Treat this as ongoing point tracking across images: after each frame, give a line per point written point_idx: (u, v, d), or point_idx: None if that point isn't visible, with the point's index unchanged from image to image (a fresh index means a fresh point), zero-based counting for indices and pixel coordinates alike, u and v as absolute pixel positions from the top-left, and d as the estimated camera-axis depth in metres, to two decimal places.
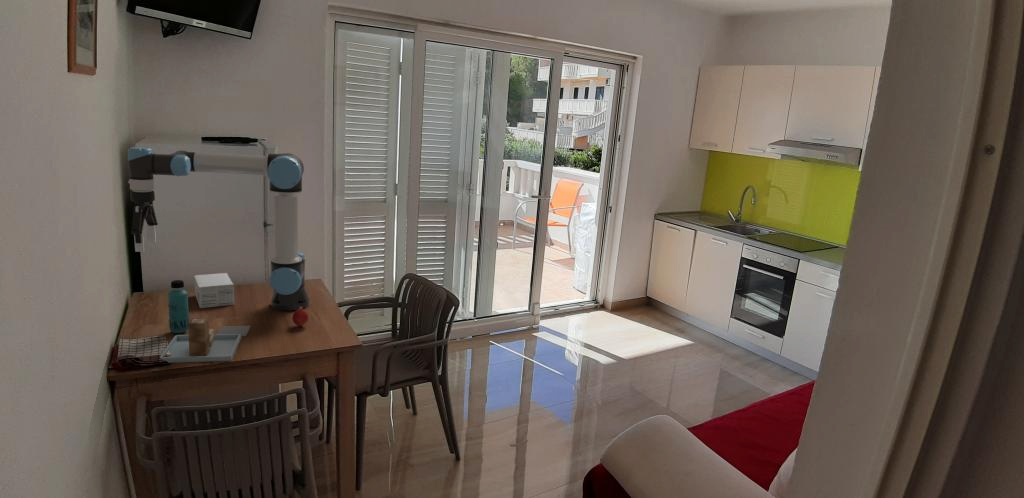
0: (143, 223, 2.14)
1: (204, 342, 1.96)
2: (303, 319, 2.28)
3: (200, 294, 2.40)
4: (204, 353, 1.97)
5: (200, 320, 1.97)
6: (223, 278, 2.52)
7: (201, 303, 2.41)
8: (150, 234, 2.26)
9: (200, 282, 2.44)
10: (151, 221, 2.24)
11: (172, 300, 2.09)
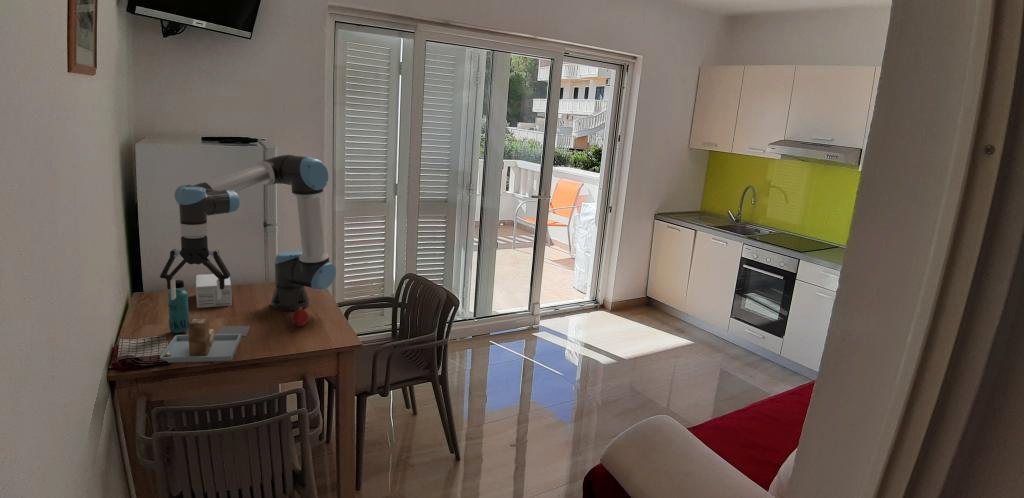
0: (177, 270, 1.90)
1: (204, 342, 1.96)
2: (303, 319, 2.28)
3: (197, 294, 2.40)
4: (204, 353, 1.97)
5: (200, 320, 1.97)
6: None
7: (198, 303, 2.41)
8: None
9: (199, 281, 2.45)
10: None
11: (172, 300, 2.09)
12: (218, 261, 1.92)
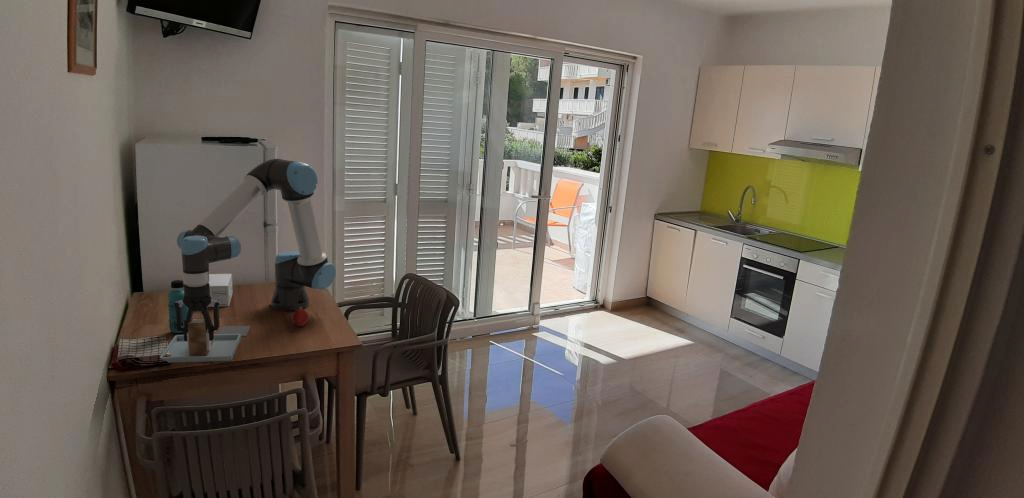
0: (188, 320, 1.95)
1: (204, 342, 1.97)
2: (303, 319, 2.28)
3: None
4: (204, 353, 1.97)
5: (200, 320, 1.97)
6: (223, 278, 2.51)
7: None
8: None
9: None
10: None
11: (172, 300, 2.09)
12: (215, 312, 1.96)
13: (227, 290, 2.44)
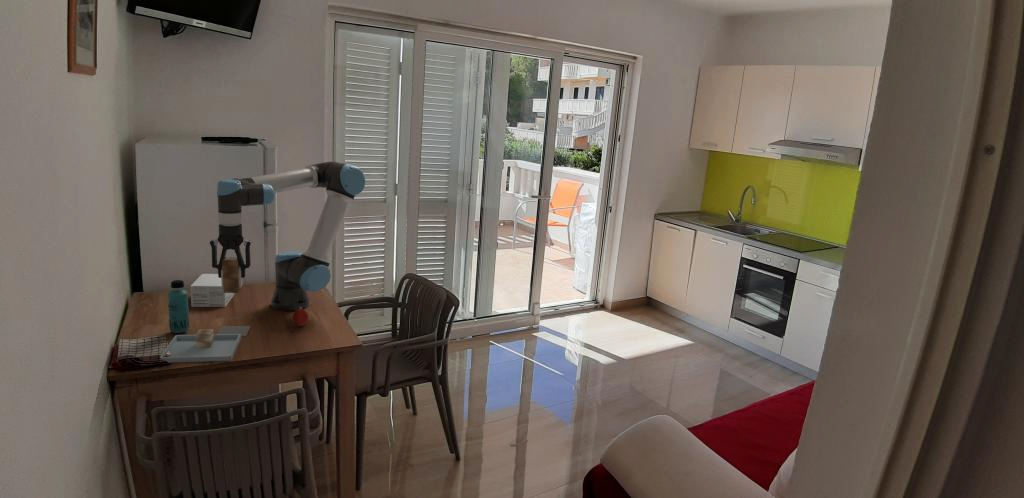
0: (223, 258, 2.11)
1: (237, 278, 2.13)
2: (303, 319, 2.28)
3: (191, 293, 2.40)
4: (236, 289, 2.14)
5: (233, 258, 2.14)
6: None
7: (192, 302, 2.41)
8: (239, 277, 2.16)
9: (198, 281, 2.46)
10: None
11: (172, 300, 2.09)
12: (247, 251, 2.13)
13: None
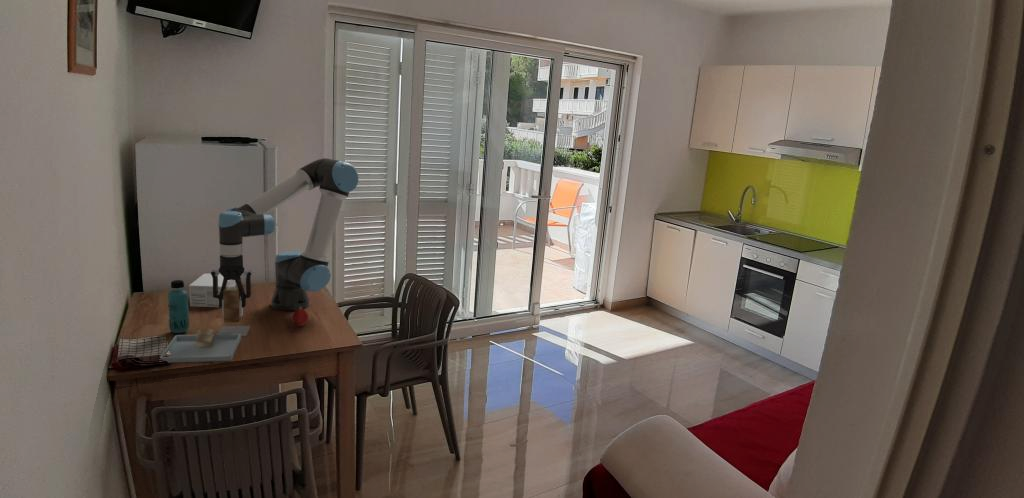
0: (223, 288, 2.14)
1: (237, 308, 2.16)
2: (303, 319, 2.28)
3: (190, 292, 2.41)
4: (237, 318, 2.17)
5: (234, 288, 2.16)
6: (222, 279, 2.50)
7: (191, 301, 2.42)
8: None
9: (197, 280, 2.46)
10: None
11: (172, 300, 2.09)
12: (248, 281, 2.16)
13: None
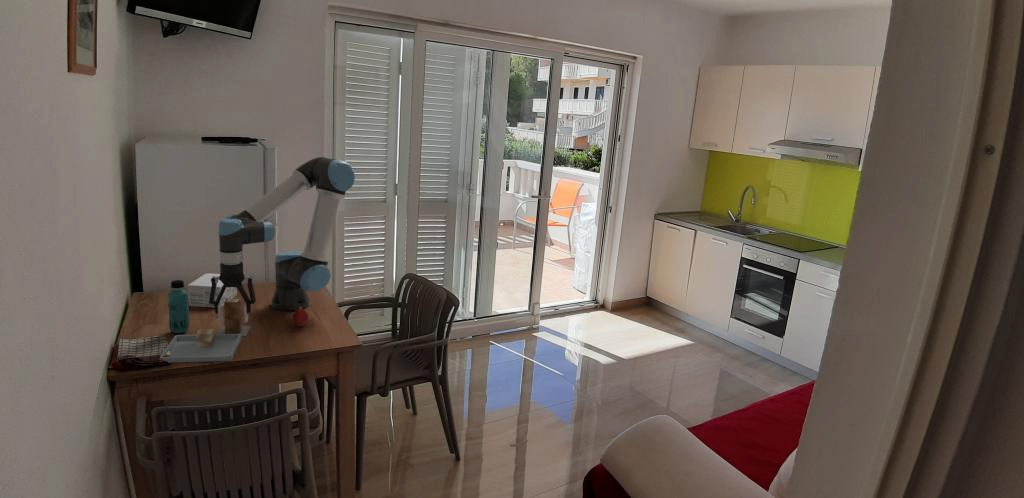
0: (221, 295, 2.15)
1: (238, 319, 2.17)
2: (303, 319, 2.28)
3: (188, 292, 2.41)
4: (238, 329, 2.18)
5: (234, 299, 2.18)
6: None
7: (189, 301, 2.42)
8: None
9: (197, 280, 2.46)
10: None
11: (172, 300, 2.09)
12: (250, 287, 2.16)
13: (219, 291, 2.42)
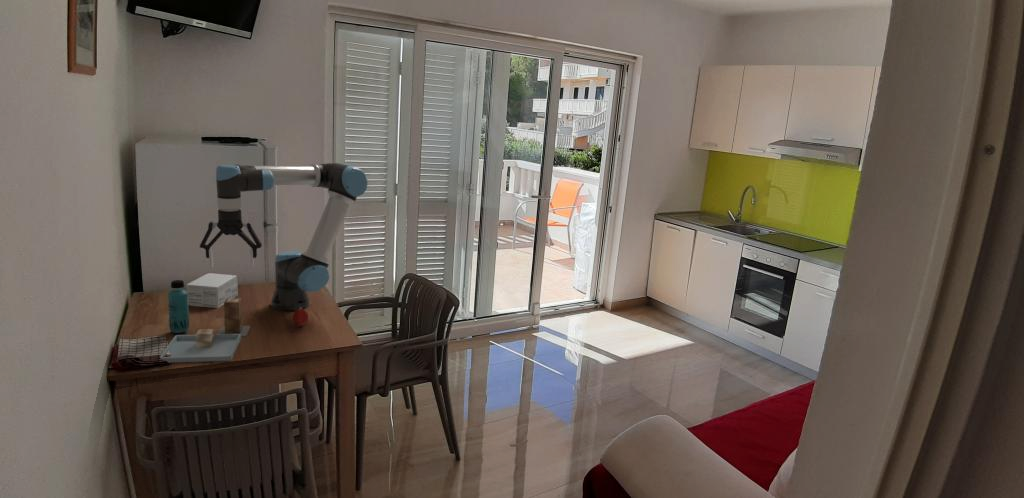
0: (215, 240, 2.11)
1: (238, 319, 2.17)
2: (303, 319, 2.28)
3: (187, 291, 2.42)
4: (238, 329, 2.18)
5: (234, 299, 2.18)
6: (222, 279, 2.49)
7: (188, 300, 2.42)
8: (251, 257, 2.17)
9: (197, 280, 2.47)
10: None
11: (172, 300, 2.09)
12: (251, 232, 2.13)
13: (216, 292, 2.41)
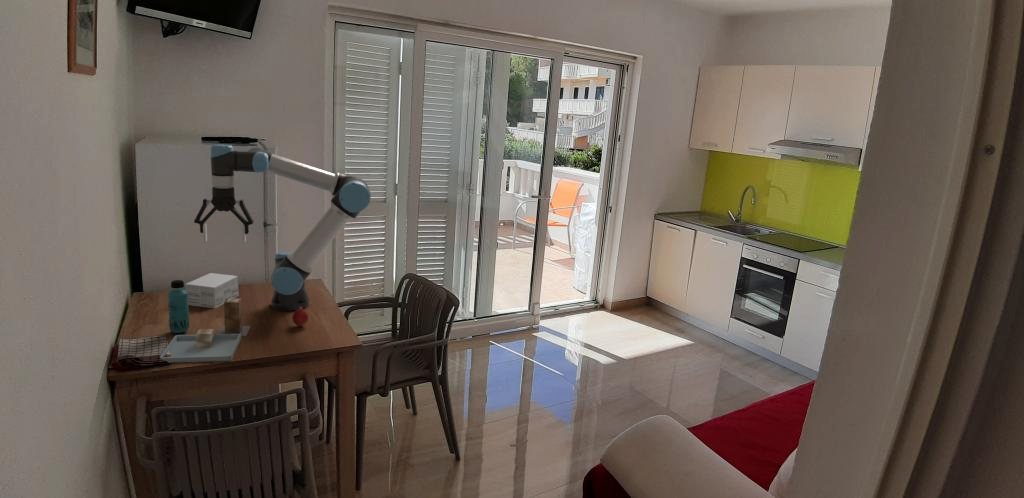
0: (209, 216, 2.22)
1: (238, 319, 2.17)
2: (303, 319, 2.28)
3: None
4: (238, 329, 2.18)
5: (234, 299, 2.18)
6: (221, 280, 2.49)
7: None
8: None
9: (197, 279, 2.47)
10: None
11: (172, 300, 2.09)
12: (243, 209, 2.24)
13: (213, 292, 2.40)
